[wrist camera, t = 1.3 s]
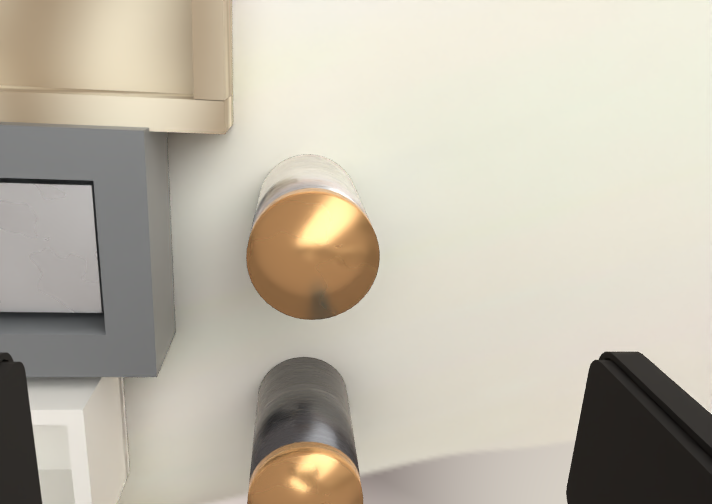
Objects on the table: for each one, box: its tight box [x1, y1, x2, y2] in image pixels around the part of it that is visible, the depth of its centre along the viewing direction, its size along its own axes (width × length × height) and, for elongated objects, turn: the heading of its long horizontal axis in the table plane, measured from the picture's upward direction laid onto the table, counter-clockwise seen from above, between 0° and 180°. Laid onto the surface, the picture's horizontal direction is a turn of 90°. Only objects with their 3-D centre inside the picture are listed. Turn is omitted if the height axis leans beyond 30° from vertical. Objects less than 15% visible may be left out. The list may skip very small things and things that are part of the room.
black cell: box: [247, 357, 363, 504], centre depth 25 cm, size 4×4×7 cm
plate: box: [0, 178, 104, 313], centre depth 22 cm, size 5×5×1 cm
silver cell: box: [246, 154, 379, 320], centre depth 22 cm, size 4×4×7 cm
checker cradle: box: [0, 122, 175, 377], centre depth 23 cm, size 9×9×4 cm
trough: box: [0, 0, 233, 134], centre depth 21 cm, size 12×8×3 cm, turn 87°
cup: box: [26, 377, 130, 504], centre depth 25 cm, size 6×6×5 cm
